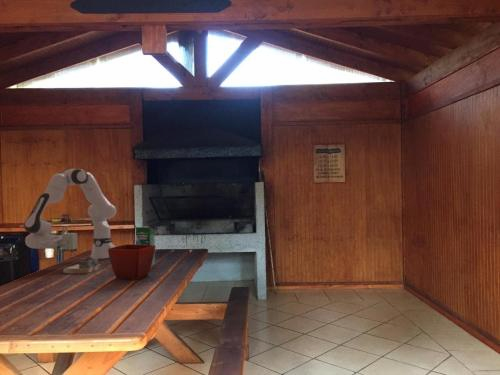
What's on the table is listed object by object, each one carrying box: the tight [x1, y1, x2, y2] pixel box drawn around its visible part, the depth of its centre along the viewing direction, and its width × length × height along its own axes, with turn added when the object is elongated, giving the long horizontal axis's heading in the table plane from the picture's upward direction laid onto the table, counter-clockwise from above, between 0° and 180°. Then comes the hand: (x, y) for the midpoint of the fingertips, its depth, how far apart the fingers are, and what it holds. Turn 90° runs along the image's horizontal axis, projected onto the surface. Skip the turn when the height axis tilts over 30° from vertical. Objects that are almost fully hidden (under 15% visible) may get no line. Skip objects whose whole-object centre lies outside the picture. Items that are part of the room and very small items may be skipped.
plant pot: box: [108, 244, 156, 281], centre depth 229 cm, size 19×19×17 cm
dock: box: [63, 257, 102, 274], centre depth 250 cm, size 16×15×6 cm
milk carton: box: [135, 225, 156, 267], centre depth 264 cm, size 9×9×25 cm
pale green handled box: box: [61, 225, 78, 253], centre depth 257 cm, size 5×7×15 cm
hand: (71, 241), depth 257 cm, fingers closed on pale green handled box, 5 cm apart
